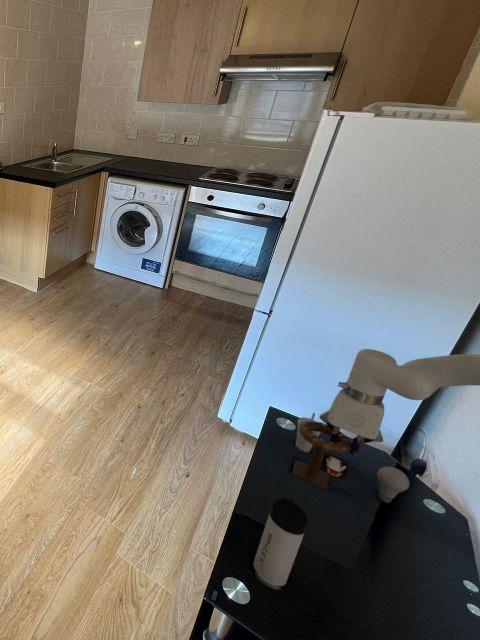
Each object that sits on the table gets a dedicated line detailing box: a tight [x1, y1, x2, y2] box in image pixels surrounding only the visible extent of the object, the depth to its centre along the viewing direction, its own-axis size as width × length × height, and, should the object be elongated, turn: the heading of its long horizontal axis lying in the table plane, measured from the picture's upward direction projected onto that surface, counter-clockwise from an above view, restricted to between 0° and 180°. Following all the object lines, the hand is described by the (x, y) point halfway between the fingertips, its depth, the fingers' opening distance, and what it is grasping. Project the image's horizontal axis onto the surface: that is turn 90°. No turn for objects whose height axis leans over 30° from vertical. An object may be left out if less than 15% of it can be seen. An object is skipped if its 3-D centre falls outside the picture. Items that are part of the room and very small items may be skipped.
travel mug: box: [253, 497, 309, 591], centre depth 91 cm, size 6×7×20 cm
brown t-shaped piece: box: [291, 446, 330, 491], centre depth 120 cm, size 8×8×11 cm
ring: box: [299, 420, 352, 455], centre depth 117 cm, size 12×12×3 cm
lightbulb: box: [377, 466, 410, 504], centre depth 112 cm, size 6×6×11 cm
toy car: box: [324, 456, 348, 478], centre depth 124 cm, size 5×8×3 cm, turn 134°
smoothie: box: [295, 412, 322, 453], centre depth 130 cm, size 6×6×14 cm
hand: (342, 447), depth 115 cm, fingers closed on ring, 3 cm apart
